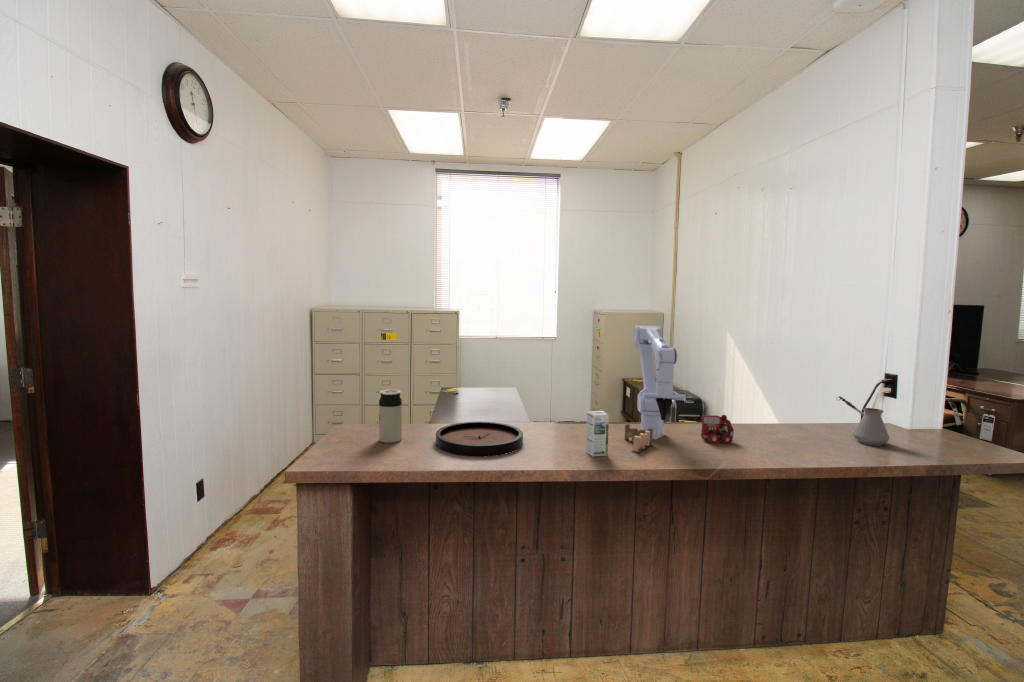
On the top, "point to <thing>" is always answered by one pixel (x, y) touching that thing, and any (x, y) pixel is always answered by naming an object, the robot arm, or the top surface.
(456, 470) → the top surface
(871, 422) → the coffee pot
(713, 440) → the toy fire truck
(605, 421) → the syrup box
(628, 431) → the fixed fence section
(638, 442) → the folding fence panel
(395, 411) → the travel mug
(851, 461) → the top surface
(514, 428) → the wall clock
